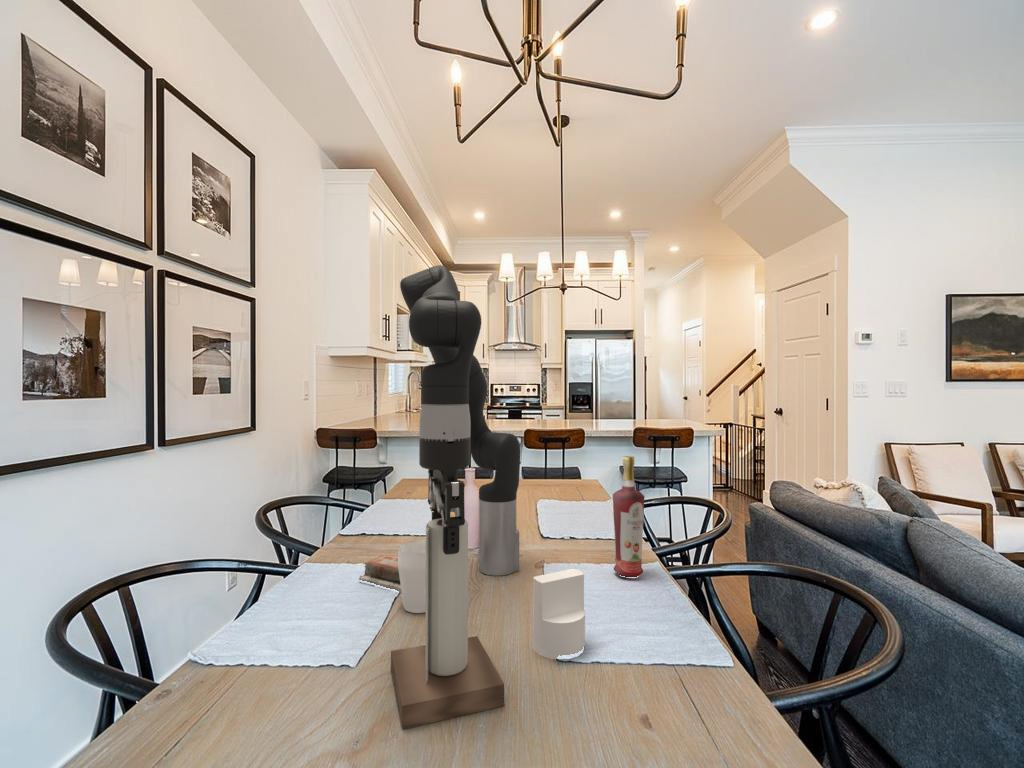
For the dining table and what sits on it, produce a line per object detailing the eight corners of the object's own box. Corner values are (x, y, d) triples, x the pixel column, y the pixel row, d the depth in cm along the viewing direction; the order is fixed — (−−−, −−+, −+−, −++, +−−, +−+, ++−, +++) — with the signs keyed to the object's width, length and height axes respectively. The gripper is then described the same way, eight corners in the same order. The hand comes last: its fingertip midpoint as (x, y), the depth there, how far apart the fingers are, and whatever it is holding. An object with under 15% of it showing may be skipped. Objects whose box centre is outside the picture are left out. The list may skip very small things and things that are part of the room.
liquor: (624, 583, 111) (624, 459, 111) (606, 572, 118) (606, 455, 118) (651, 578, 114) (651, 458, 114) (632, 567, 120) (632, 454, 120)
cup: (450, 600, 102) (450, 542, 102) (429, 619, 93) (429, 556, 93) (412, 594, 105) (412, 538, 105) (388, 612, 96) (388, 551, 96)
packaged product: (357, 562, 111) (387, 550, 120) (357, 584, 111) (387, 569, 120) (419, 577, 103) (447, 562, 111) (419, 600, 103) (447, 584, 111)
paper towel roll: (459, 650, 77) (459, 514, 77) (473, 670, 71) (474, 524, 71) (413, 662, 73) (414, 519, 73) (425, 684, 68) (426, 530, 68)
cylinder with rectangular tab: (550, 665, 78) (550, 590, 78) (523, 639, 86) (523, 571, 86) (595, 651, 82) (595, 580, 82) (565, 628, 90) (566, 563, 90)
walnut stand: (477, 654, 81) (477, 635, 81) (504, 705, 68) (504, 684, 68) (390, 670, 76) (390, 651, 76) (402, 729, 63) (402, 706, 63)
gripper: (412, 431, 78) (412, 533, 78) (428, 440, 65) (427, 563, 64) (458, 430, 81) (458, 528, 80) (483, 438, 67) (482, 556, 67)
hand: (444, 544), depth 72 cm, fingers open, 8 cm apart
